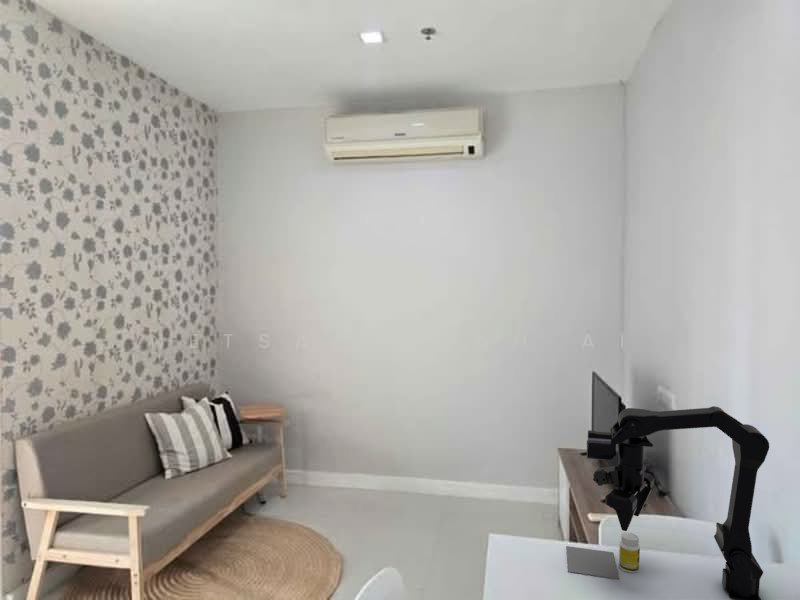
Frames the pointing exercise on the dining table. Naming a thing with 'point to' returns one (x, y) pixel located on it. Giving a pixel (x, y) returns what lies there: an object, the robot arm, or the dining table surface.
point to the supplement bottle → (629, 553)
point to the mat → (591, 562)
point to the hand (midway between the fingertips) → (630, 522)
